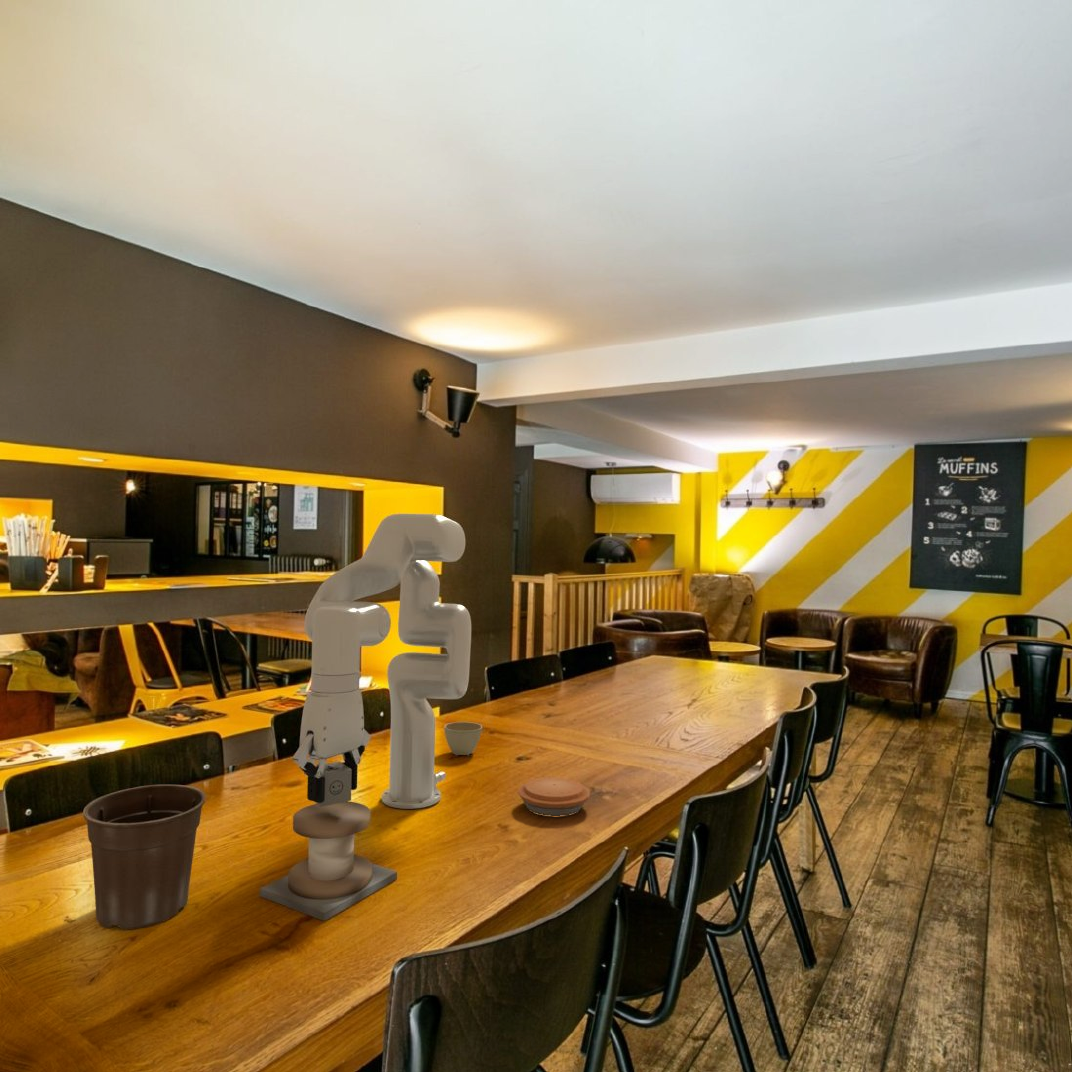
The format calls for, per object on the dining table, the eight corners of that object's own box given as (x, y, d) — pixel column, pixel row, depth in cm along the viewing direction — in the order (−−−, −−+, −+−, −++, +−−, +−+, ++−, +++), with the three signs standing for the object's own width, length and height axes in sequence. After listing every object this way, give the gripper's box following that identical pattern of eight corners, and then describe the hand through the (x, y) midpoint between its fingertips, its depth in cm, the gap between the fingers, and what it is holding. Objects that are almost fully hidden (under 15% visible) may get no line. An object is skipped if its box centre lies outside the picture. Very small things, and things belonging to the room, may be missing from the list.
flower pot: (486, 757, 190) (487, 729, 190) (449, 760, 186) (449, 732, 186) (475, 746, 199) (475, 720, 199) (439, 749, 196) (440, 723, 196)
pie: (528, 824, 145) (528, 799, 145) (509, 798, 160) (510, 775, 160) (600, 818, 150) (601, 794, 150) (576, 792, 164) (576, 770, 165)
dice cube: (320, 806, 114) (321, 775, 114) (309, 797, 118) (310, 766, 118) (351, 800, 117) (351, 769, 117) (339, 791, 121) (339, 761, 121)
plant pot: (222, 909, 110) (224, 802, 110) (103, 953, 98) (106, 832, 98) (177, 874, 121) (179, 777, 121) (64, 910, 109) (67, 801, 109)
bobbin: (335, 858, 128) (337, 791, 128) (397, 878, 121) (398, 808, 121) (260, 896, 114) (261, 821, 114) (324, 921, 107) (326, 841, 107)
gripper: (356, 672, 127) (353, 776, 127) (275, 688, 112) (272, 806, 112) (389, 677, 123) (386, 784, 123) (310, 694, 108) (307, 816, 108)
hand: (332, 793), depth 117 cm, fingers closed on dice cube, 6 cm apart
